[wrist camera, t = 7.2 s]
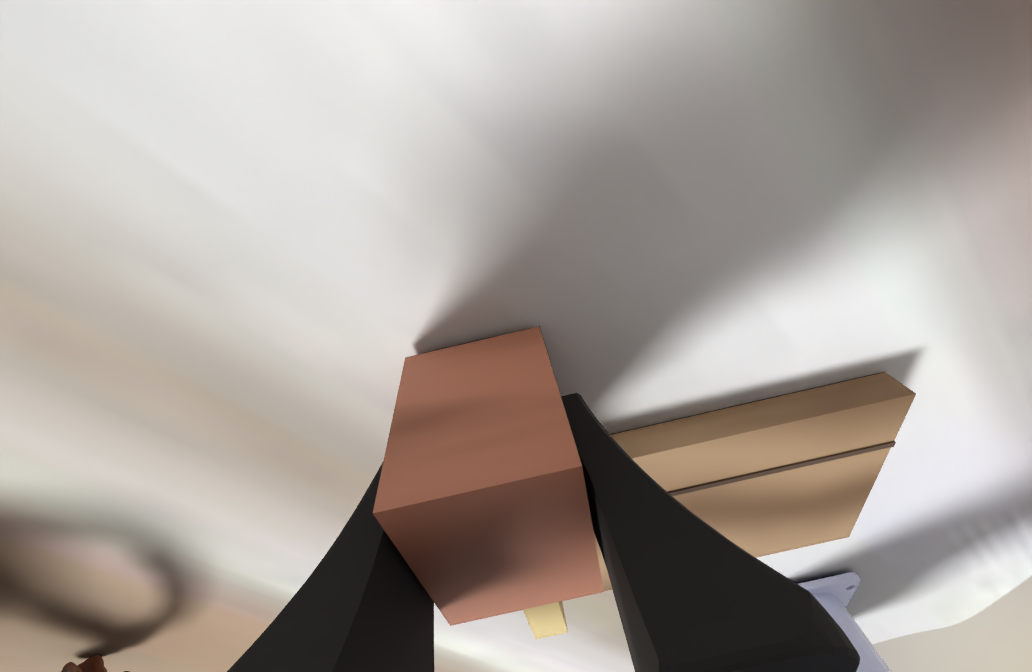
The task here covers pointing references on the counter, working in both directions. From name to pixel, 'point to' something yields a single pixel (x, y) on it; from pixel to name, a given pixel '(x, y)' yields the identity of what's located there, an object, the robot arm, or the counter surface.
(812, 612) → the robot arm
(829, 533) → the board
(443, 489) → the brown block with stick
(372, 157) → the counter surface
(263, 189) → the counter surface
